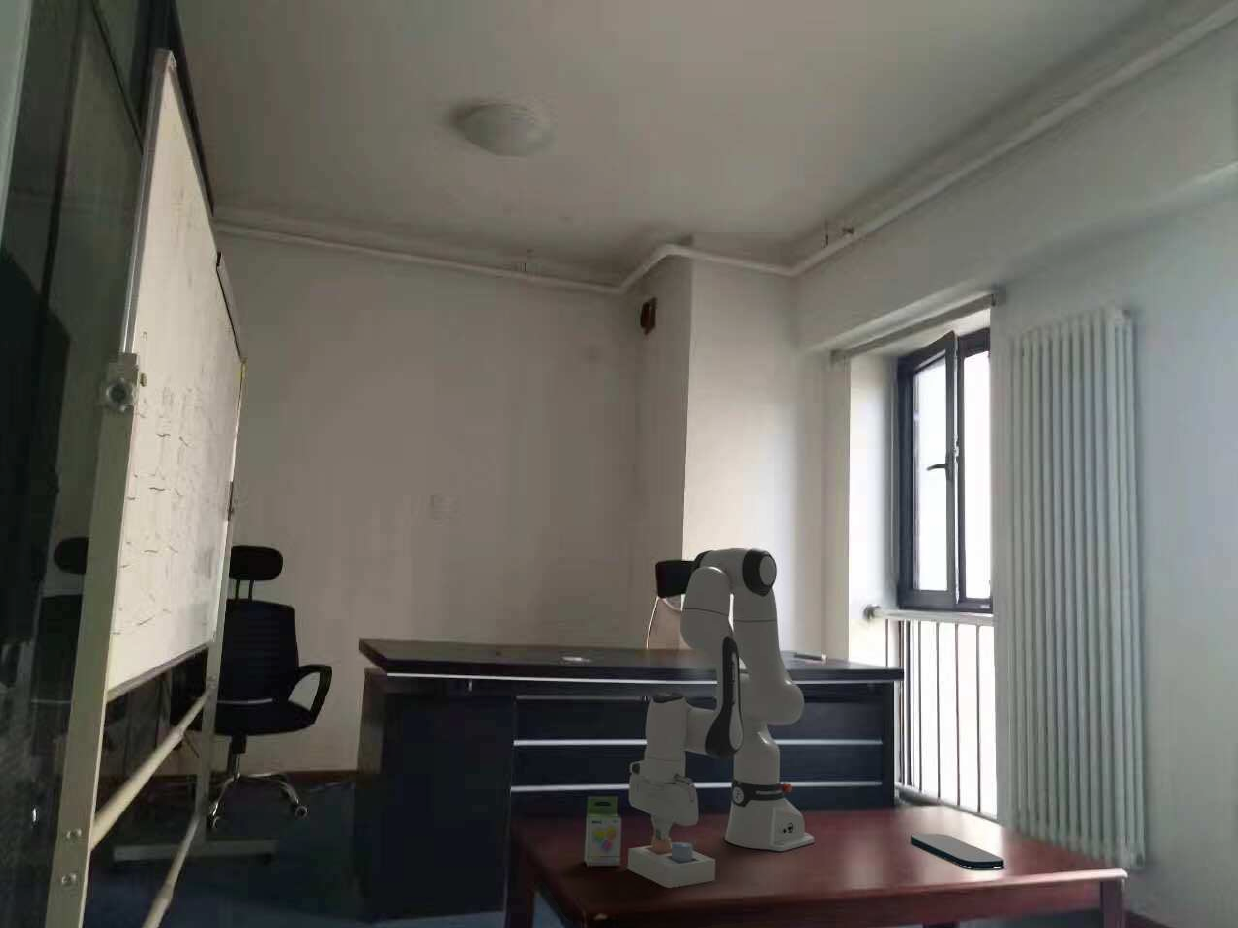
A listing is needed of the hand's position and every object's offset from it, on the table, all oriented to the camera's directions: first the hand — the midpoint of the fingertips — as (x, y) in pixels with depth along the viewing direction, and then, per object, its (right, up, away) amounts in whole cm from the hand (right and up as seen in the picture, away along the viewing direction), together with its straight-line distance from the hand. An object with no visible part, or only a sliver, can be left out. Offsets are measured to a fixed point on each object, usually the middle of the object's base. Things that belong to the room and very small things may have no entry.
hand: (661, 838), depth 187 cm
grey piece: (+4, -3, -6) cm, 8 cm away
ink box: (-13, -6, +1) cm, 14 cm away
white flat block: (+2, -6, -4) cm, 7 cm away
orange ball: (0, -4, -1) cm, 4 cm away
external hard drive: (+72, -15, +24) cm, 77 cm away
